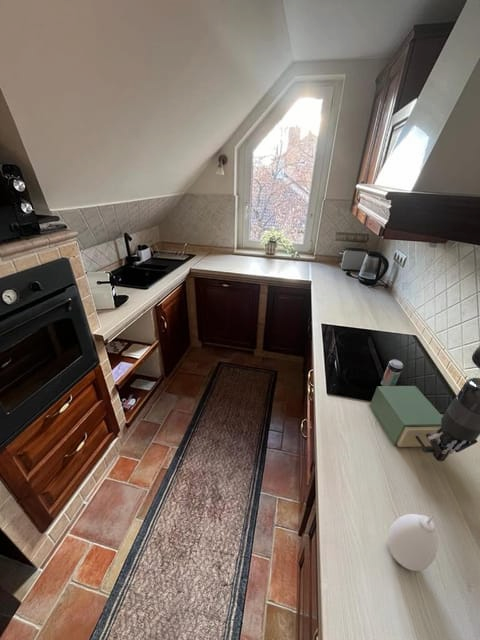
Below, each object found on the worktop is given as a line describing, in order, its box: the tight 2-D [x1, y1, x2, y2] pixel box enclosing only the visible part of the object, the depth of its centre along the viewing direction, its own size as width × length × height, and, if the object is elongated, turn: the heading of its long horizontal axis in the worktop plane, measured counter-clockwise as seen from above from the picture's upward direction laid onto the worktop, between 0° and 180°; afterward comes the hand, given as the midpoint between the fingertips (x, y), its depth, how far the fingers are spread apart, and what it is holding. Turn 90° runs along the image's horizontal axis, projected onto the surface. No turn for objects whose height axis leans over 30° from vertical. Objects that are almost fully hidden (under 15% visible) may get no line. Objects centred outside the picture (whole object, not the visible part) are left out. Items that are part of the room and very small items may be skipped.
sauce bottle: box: [387, 513, 439, 572], centre depth 52 cm, size 8×8×18 cm
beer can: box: [380, 358, 404, 386], centre depth 100 cm, size 5×5×12 cm
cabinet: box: [369, 385, 443, 446], centre depth 84 cm, size 16×14×10 cm
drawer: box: [396, 426, 442, 454], centre depth 81 cm, size 20×13×8 cm, turn 2°
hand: (437, 458), depth 71 cm, fingers closed
